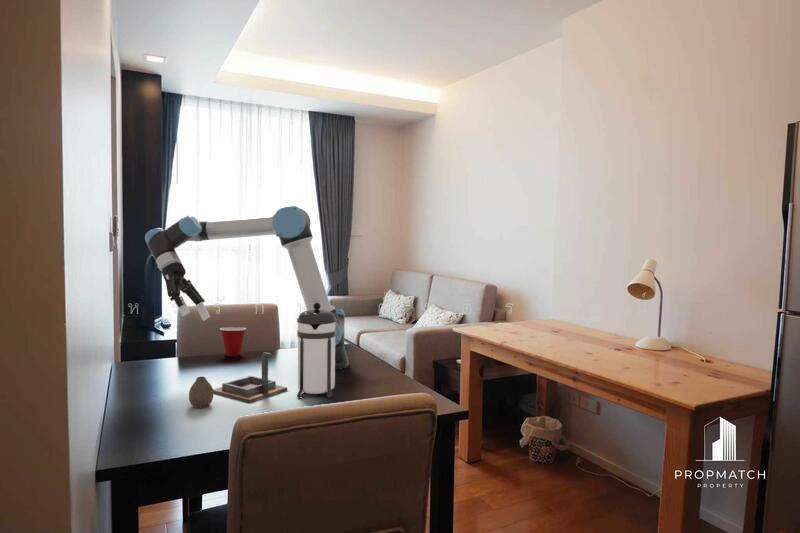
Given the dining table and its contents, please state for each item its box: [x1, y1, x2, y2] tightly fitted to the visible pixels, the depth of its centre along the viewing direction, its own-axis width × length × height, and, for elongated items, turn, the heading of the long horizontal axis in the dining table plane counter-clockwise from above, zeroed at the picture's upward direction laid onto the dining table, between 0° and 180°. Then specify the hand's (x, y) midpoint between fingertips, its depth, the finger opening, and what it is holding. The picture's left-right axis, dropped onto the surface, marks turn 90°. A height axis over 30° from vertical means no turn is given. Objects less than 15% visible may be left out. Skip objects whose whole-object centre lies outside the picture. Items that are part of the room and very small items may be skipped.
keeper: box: [213, 351, 288, 404], centre depth 168 cm, size 16×18×14 cm
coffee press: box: [296, 303, 337, 400], centre depth 168 cm, size 17×16×30 cm
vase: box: [188, 376, 214, 409], centre depth 153 cm, size 7×7×9 cm
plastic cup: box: [219, 326, 247, 357], centre depth 221 cm, size 11×11×12 cm
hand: (196, 316), depth 178 cm, fingers open, 13 cm apart
